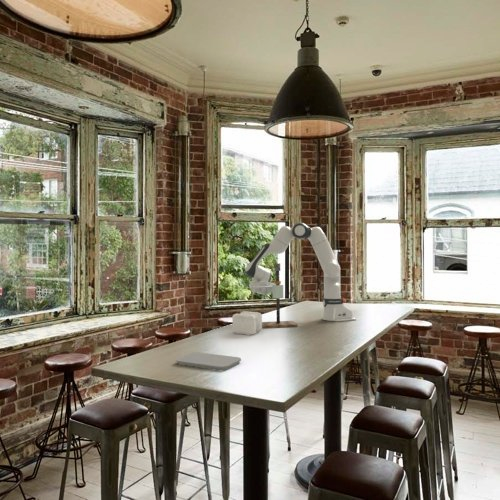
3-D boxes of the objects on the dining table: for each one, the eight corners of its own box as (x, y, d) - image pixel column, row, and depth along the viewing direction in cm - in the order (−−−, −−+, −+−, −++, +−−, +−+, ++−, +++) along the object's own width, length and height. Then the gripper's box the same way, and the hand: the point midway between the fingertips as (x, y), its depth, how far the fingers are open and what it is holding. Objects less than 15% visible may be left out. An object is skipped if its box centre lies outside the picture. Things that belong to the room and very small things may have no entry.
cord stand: (292, 323, 291) (292, 262, 290) (298, 326, 278) (297, 263, 277) (259, 324, 288) (258, 263, 287) (262, 328, 275) (261, 264, 274)
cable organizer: (263, 332, 262) (263, 312, 262) (253, 336, 253) (253, 315, 253) (241, 330, 270) (241, 310, 270) (231, 333, 261) (231, 313, 261)
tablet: (224, 372, 185) (224, 367, 185) (173, 365, 197) (173, 360, 197) (243, 363, 199) (243, 357, 199) (194, 356, 212) (194, 351, 212)
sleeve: (279, 297, 286) (279, 284, 286) (283, 298, 281) (283, 285, 281) (272, 297, 284) (272, 284, 284) (276, 298, 279) (276, 285, 279)
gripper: (248, 283, 297) (257, 285, 284) (276, 282, 305) (286, 284, 293) (249, 293, 297) (257, 295, 284) (276, 291, 305) (286, 293, 293)
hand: (272, 289), depth 289 cm, fingers open, 8 cm apart
